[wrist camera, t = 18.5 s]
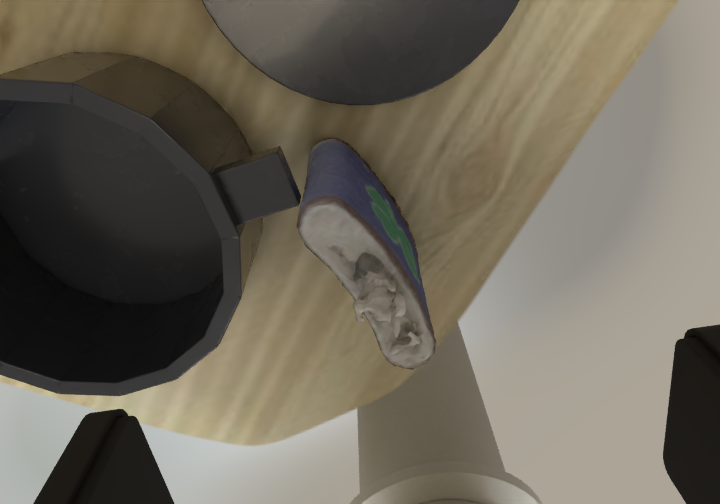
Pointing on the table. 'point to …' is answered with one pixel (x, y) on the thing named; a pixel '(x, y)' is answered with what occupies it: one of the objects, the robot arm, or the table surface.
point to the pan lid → (360, 43)
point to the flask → (367, 250)
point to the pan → (122, 222)
